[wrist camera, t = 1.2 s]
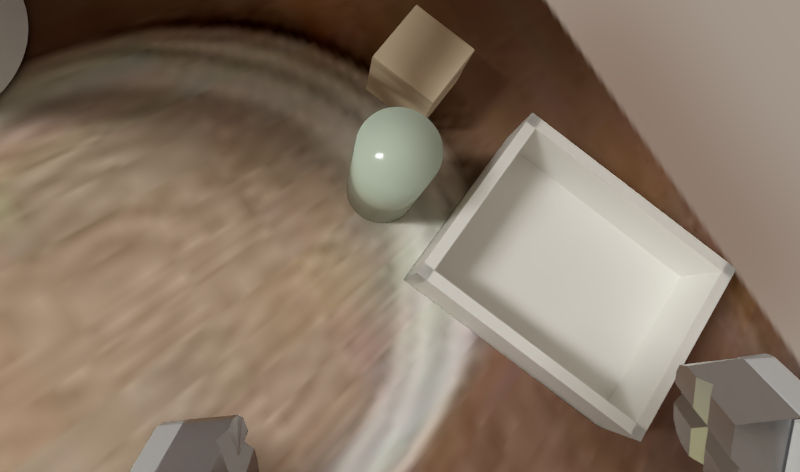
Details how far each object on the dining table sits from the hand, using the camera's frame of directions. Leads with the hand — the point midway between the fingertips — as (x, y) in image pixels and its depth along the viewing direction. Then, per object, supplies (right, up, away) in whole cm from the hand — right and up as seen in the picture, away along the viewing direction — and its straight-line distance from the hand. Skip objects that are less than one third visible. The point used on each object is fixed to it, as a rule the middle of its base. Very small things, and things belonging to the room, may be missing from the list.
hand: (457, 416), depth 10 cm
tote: (+10, 0, +29) cm, 31 cm away
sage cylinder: (-3, +7, +28) cm, 29 cm away
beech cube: (0, +15, +30) cm, 34 cm away
